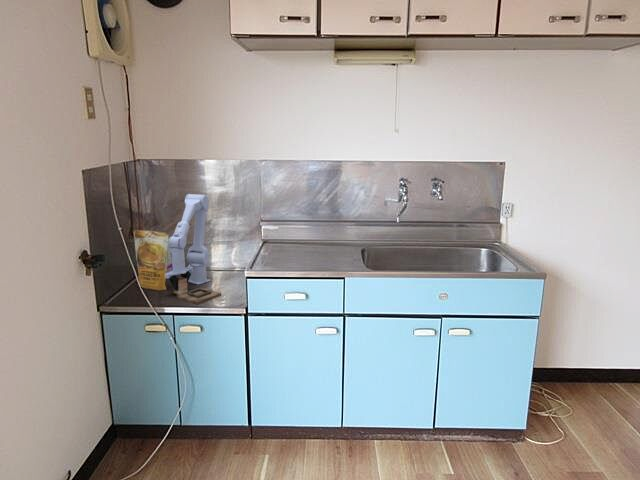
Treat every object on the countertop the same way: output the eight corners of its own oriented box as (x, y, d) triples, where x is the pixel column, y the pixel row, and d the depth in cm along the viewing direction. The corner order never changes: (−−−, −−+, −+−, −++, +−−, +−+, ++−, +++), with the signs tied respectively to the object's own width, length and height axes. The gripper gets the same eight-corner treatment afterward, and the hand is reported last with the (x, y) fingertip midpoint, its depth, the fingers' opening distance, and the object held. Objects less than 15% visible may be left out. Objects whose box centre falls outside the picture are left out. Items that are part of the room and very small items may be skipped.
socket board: (177, 297, 218) (176, 293, 217) (201, 289, 229) (201, 285, 228) (197, 304, 210) (196, 299, 209) (221, 295, 221) (221, 291, 220)
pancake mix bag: (142, 282, 238) (137, 228, 231) (174, 287, 231) (169, 231, 225) (133, 287, 232) (127, 231, 225) (165, 292, 225) (160, 234, 218)
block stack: (173, 293, 224) (172, 279, 222) (181, 290, 227) (180, 276, 225) (179, 295, 221) (178, 281, 219) (187, 292, 225) (186, 278, 223)
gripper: (170, 266, 212) (172, 295, 216) (196, 259, 224) (198, 286, 227) (161, 263, 216) (163, 291, 220) (187, 256, 228) (188, 283, 231)
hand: (180, 289), depth 224 cm, fingers closed on block stack, 4 cm apart
